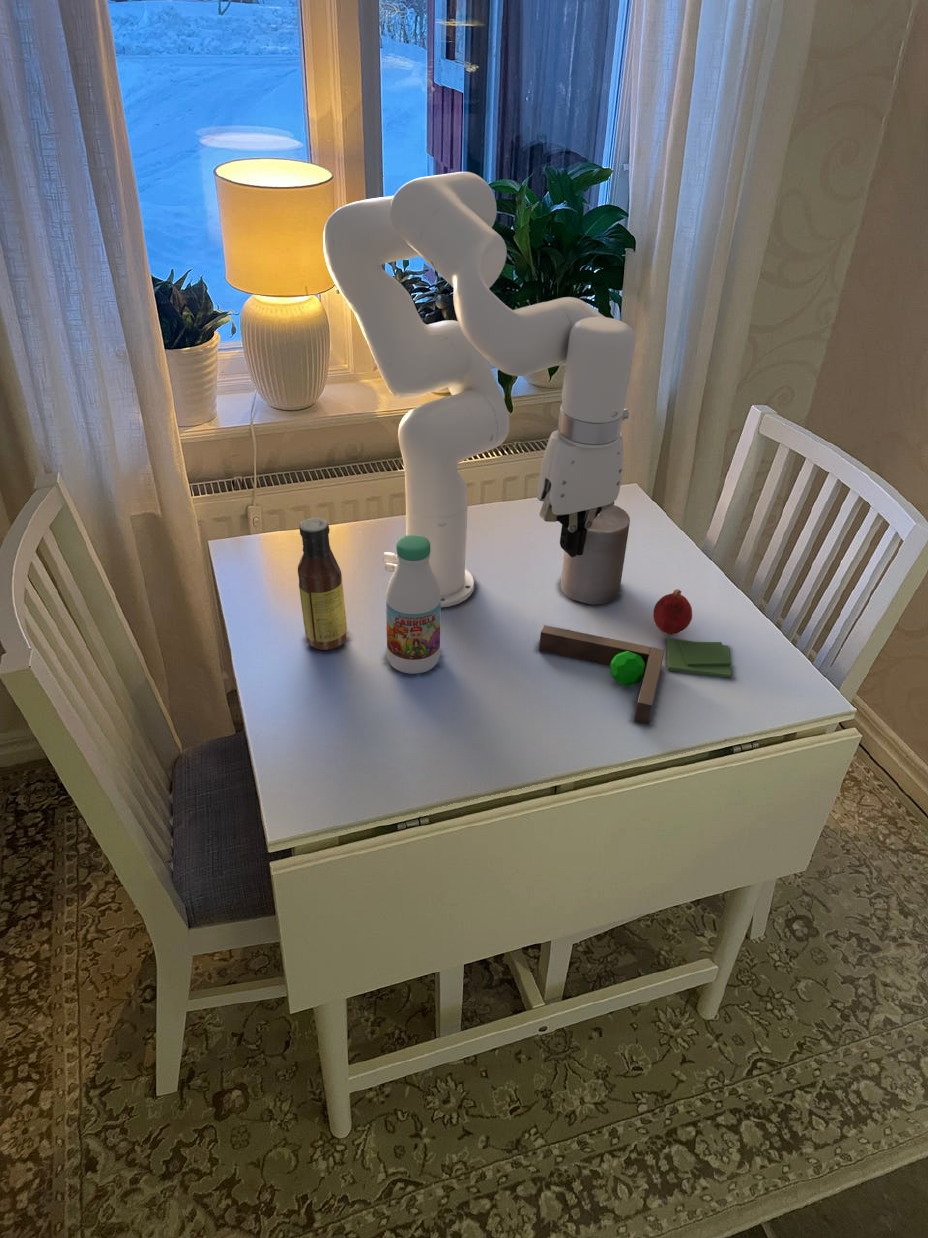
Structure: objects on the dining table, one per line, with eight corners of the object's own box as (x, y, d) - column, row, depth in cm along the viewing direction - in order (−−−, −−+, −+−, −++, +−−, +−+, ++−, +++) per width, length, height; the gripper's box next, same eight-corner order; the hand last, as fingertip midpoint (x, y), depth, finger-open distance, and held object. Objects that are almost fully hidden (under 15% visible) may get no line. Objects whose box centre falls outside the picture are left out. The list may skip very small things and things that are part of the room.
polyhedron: (611, 667, 136) (615, 642, 134) (644, 674, 135) (649, 648, 133) (605, 688, 133) (609, 662, 130) (640, 695, 132) (645, 669, 129)
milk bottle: (379, 649, 138) (376, 533, 127) (428, 638, 141) (429, 523, 129) (397, 680, 133) (396, 562, 121) (447, 668, 135) (451, 551, 124)
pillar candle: (603, 568, 158) (614, 490, 149) (629, 600, 151) (642, 519, 142) (550, 577, 156) (558, 497, 147) (574, 610, 148) (584, 528, 139)
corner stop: (520, 696, 131) (522, 677, 129) (541, 643, 141) (543, 624, 139) (648, 725, 127) (652, 705, 125) (661, 668, 137) (664, 649, 135)
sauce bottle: (355, 634, 141) (349, 519, 130) (333, 657, 137) (325, 540, 125) (318, 622, 143) (309, 509, 132) (295, 644, 139) (284, 529, 127)
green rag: (668, 670, 136) (669, 664, 136) (667, 641, 142) (668, 635, 142) (730, 678, 135) (732, 672, 135) (727, 648, 141) (728, 642, 141)
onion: (687, 647, 141) (696, 604, 136) (649, 641, 142) (657, 598, 137) (687, 625, 146) (696, 582, 141) (650, 620, 147) (658, 577, 142)
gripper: (622, 402, 118) (602, 526, 129) (520, 420, 113) (508, 548, 124) (658, 427, 113) (633, 553, 124) (553, 447, 107) (537, 578, 118)
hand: (571, 550), depth 124 cm, fingers closed
